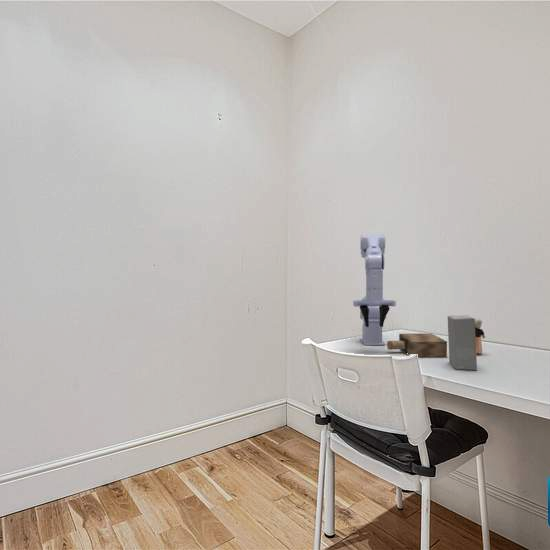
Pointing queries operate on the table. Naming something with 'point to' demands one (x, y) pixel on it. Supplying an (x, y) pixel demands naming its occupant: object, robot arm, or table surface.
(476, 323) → the grandmother figurine
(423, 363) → the table surface
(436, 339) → the block
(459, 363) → the skincare box
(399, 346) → the peg
